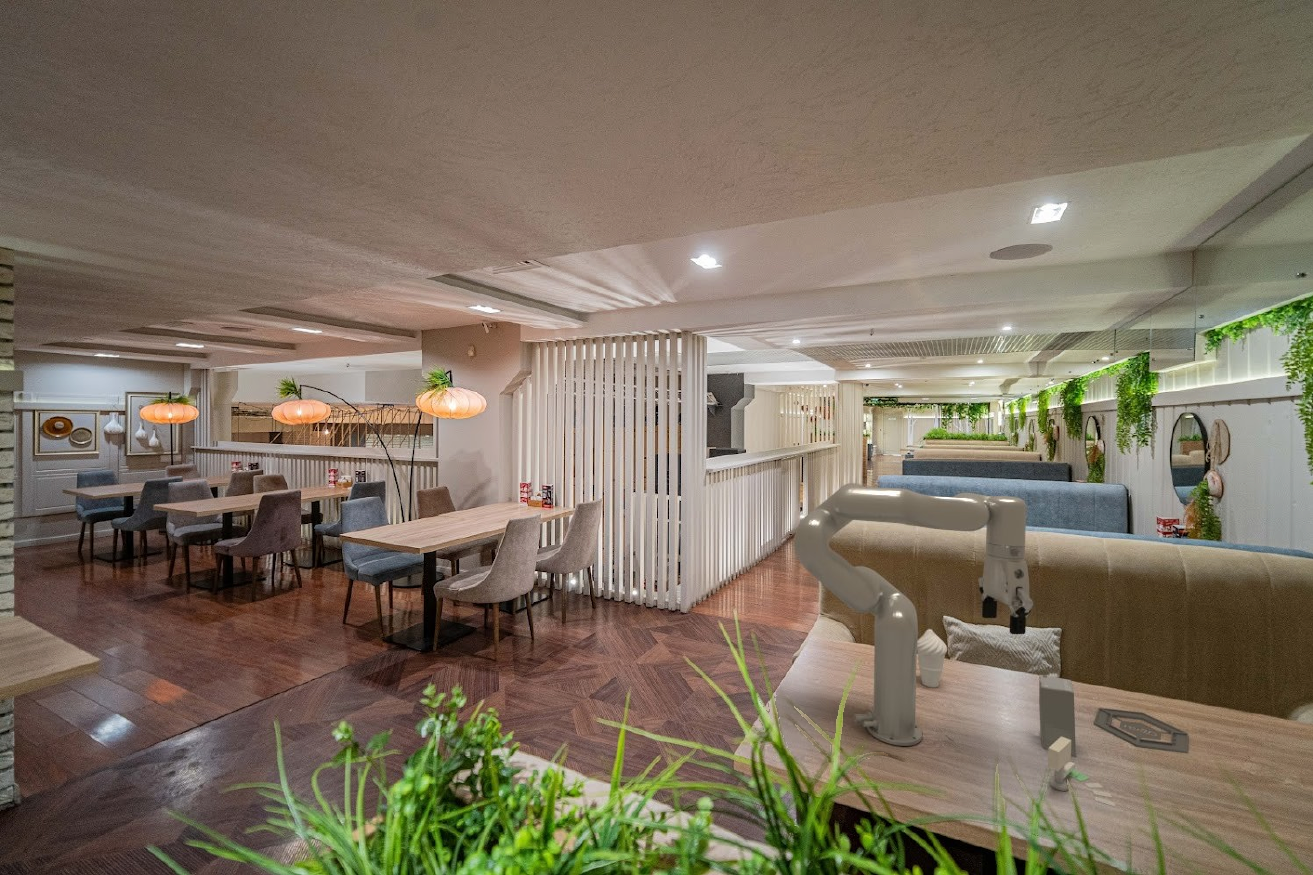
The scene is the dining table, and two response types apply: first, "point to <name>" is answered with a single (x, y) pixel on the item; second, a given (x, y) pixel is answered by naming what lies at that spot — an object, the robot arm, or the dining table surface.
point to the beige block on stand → (1060, 762)
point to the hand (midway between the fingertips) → (1002, 625)
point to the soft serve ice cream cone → (931, 658)
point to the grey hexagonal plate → (1177, 736)
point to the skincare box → (1056, 711)
